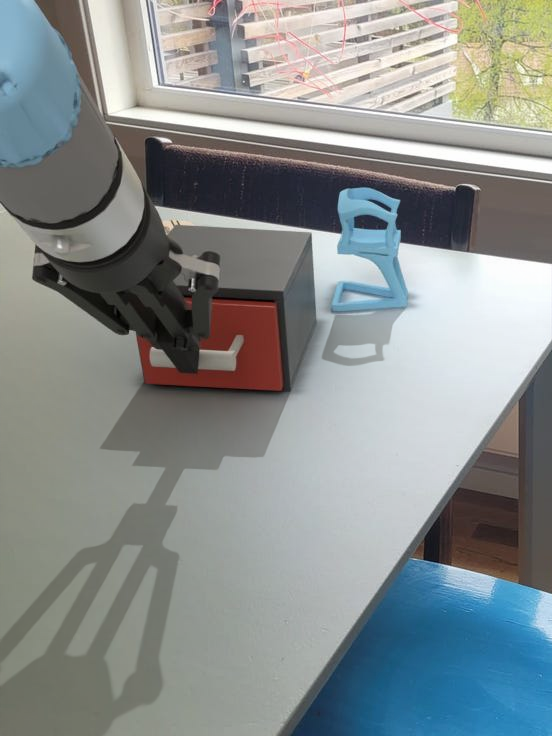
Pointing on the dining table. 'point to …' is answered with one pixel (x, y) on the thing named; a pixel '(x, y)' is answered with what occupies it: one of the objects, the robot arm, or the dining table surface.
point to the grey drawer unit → (261, 279)
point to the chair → (370, 249)
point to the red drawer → (227, 350)
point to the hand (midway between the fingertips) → (190, 357)
